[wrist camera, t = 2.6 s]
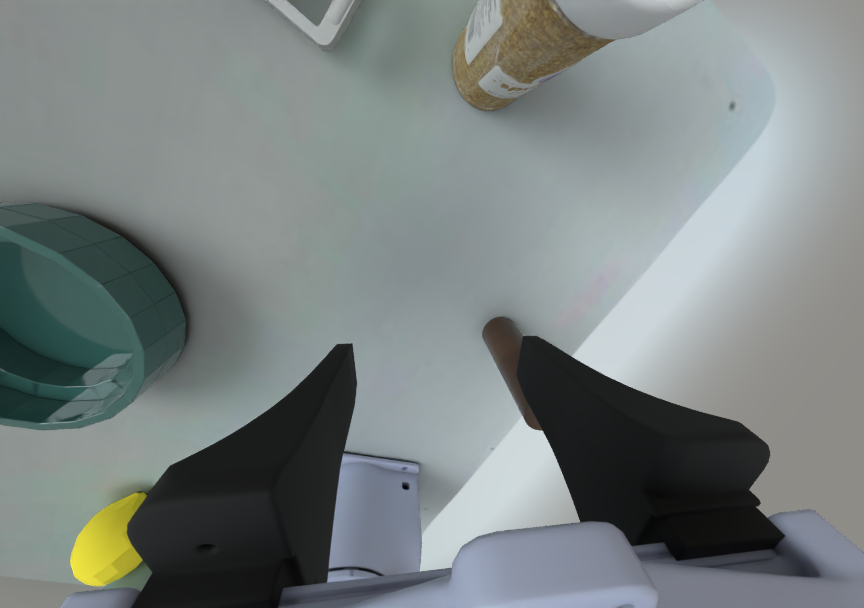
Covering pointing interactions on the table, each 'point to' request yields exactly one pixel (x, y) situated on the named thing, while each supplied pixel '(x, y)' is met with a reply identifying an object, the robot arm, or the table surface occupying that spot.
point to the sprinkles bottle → (543, 41)
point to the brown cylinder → (508, 360)
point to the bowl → (78, 320)
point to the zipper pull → (329, 28)
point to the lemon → (107, 544)
